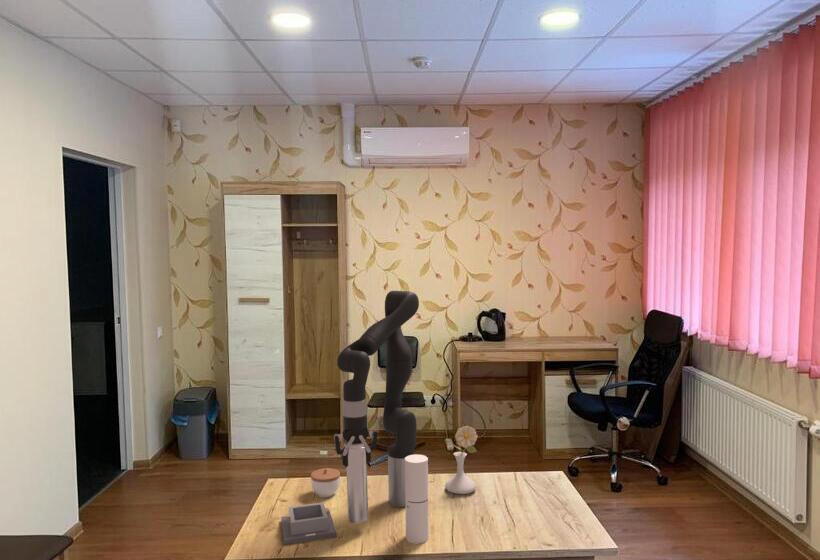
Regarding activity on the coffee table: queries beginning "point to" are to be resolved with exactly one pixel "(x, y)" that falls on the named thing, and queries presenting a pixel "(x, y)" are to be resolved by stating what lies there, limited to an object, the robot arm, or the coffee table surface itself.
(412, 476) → the cylindrical container
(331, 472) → the lidded jar
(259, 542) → the coffee table surface
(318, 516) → the socket
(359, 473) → the silver metal cylinder
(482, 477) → the coffee table surface
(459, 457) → the flower in vase
